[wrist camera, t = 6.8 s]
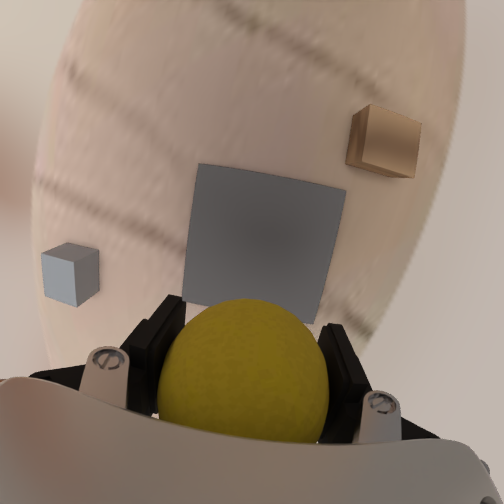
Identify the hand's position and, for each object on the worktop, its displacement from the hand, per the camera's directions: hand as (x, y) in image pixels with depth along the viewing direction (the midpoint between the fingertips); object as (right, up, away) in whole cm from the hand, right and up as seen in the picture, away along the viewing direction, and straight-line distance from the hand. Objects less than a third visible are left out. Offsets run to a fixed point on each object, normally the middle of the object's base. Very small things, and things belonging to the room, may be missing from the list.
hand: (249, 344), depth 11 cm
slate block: (-20, +2, +18) cm, 27 cm away
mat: (+1, +4, +16) cm, 17 cm away
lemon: (0, 0, +2) cm, 2 cm away
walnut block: (+12, +14, +13) cm, 22 cm away
